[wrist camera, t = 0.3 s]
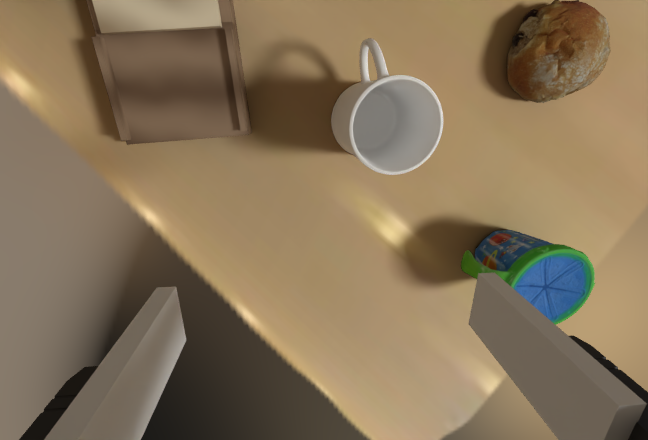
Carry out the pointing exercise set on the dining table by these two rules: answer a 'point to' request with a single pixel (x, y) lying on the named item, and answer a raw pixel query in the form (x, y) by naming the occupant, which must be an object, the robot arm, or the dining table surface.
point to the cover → (156, 15)
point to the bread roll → (558, 51)
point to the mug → (387, 118)
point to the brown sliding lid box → (175, 81)
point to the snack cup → (535, 271)
